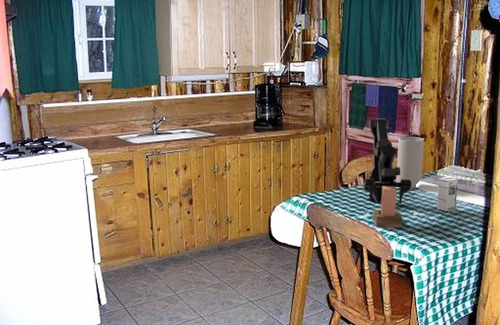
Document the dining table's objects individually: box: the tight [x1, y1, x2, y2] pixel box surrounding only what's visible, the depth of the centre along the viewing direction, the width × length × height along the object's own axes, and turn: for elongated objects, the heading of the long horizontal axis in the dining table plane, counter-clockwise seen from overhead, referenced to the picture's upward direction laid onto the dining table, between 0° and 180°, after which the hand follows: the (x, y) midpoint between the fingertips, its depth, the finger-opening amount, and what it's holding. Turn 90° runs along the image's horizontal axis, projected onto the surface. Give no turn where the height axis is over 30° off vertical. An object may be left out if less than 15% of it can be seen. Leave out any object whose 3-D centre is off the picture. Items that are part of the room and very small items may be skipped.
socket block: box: [372, 209, 403, 228], centre depth 214 cm, size 10×10×4 cm
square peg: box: [380, 186, 398, 216], centre depth 212 cm, size 5×5×14 cm
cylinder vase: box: [395, 136, 425, 189], centre depth 271 cm, size 12×12×25 cm
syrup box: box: [436, 176, 459, 212], centre depth 230 cm, size 6×6×14 cm
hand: (388, 202), depth 211 cm, fingers open, 9 cm apart
